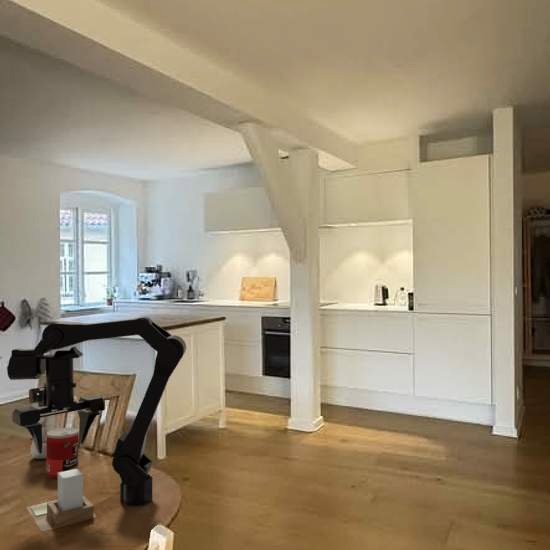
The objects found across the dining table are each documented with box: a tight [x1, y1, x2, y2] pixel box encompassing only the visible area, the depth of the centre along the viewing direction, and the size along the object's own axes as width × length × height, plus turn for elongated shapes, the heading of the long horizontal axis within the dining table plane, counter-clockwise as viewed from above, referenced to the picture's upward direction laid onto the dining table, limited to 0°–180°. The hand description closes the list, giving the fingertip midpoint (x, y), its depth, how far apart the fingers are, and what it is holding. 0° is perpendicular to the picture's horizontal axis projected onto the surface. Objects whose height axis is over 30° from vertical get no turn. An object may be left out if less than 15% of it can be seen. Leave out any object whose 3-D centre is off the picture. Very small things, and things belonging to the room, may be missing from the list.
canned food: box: [45, 427, 80, 480], centre depth 139 cm, size 8×8×11 cm
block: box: [57, 468, 84, 512], centre depth 112 cm, size 4×4×9 cm
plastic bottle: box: [30, 385, 57, 460], centre depth 151 cm, size 6×7×20 cm
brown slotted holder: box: [25, 494, 98, 533], centre depth 114 cm, size 14×11×4 cm
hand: (61, 448), depth 118 cm, fingers open, 9 cm apart
